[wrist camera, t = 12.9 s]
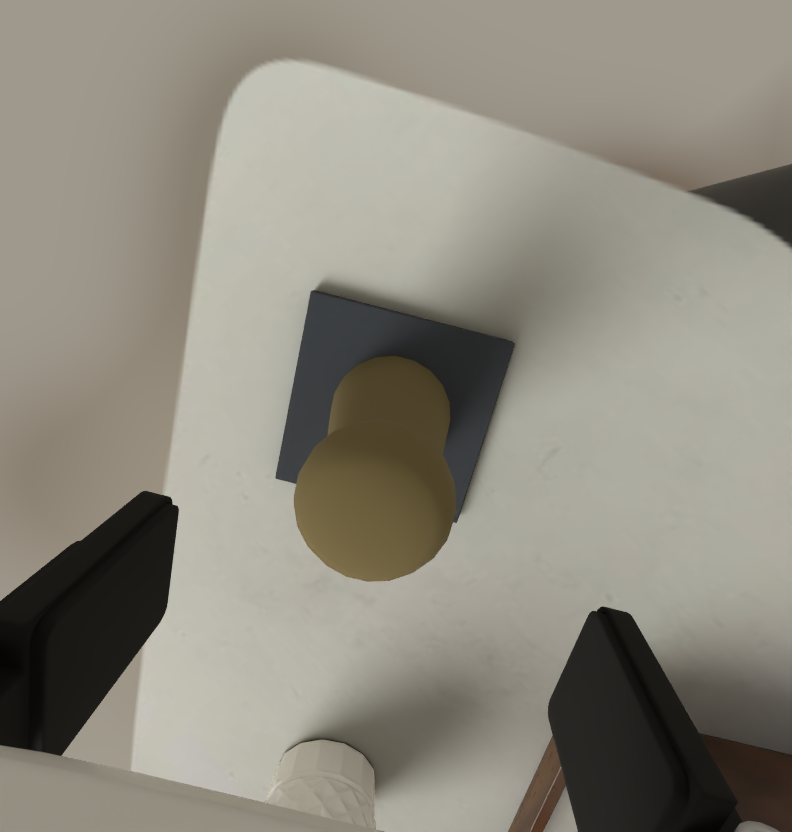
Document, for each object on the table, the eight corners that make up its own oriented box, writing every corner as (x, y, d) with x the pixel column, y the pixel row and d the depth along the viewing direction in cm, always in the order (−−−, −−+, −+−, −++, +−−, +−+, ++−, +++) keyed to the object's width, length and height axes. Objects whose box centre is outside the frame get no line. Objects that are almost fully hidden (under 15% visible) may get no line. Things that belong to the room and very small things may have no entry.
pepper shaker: (333, 350, 24) (267, 419, 13) (457, 361, 24) (489, 438, 13) (328, 464, 26) (267, 604, 15) (443, 475, 26) (462, 622, 15)
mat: (513, 341, 24) (515, 343, 23) (456, 517, 27) (457, 523, 26) (313, 289, 24) (310, 290, 23) (278, 474, 27) (274, 478, 26)
